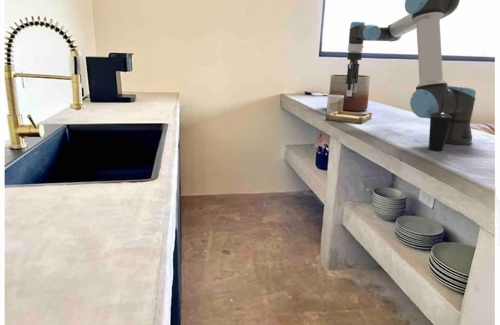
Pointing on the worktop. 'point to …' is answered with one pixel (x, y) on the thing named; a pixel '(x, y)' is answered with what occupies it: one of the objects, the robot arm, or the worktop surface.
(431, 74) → the robot arm
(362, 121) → the golden square tray
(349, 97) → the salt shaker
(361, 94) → the planter
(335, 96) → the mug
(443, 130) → the drinking cup
